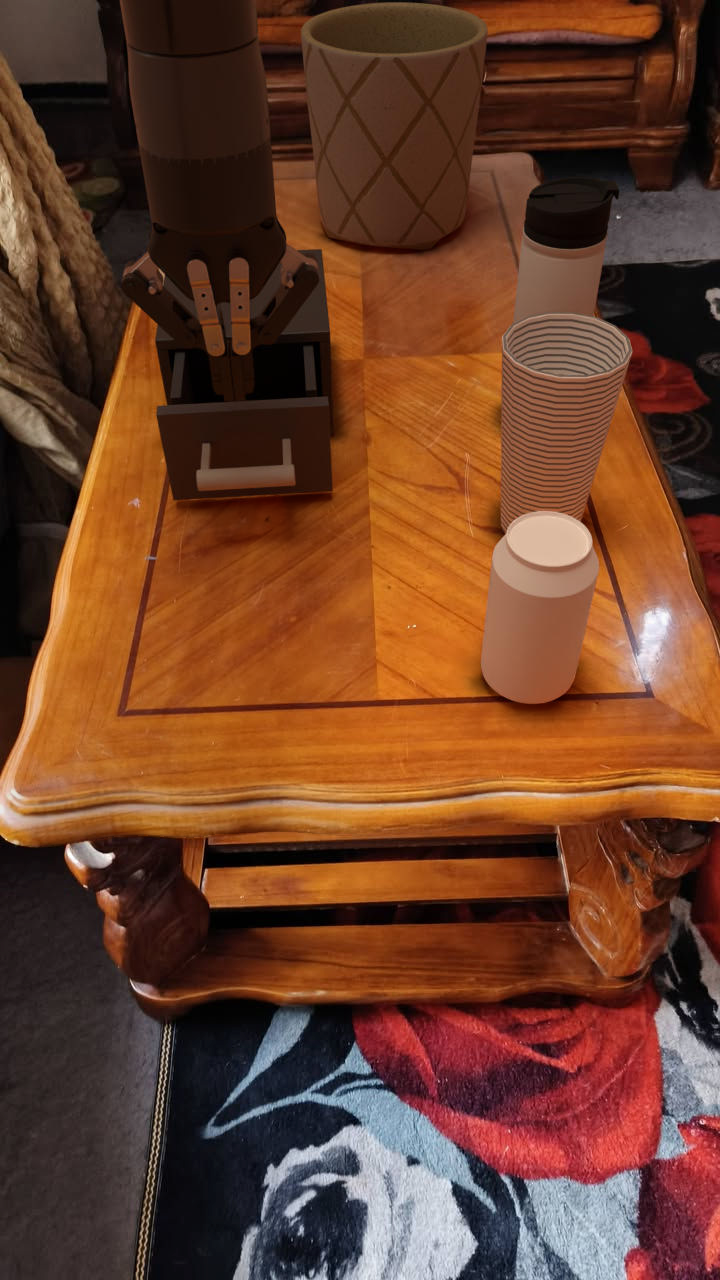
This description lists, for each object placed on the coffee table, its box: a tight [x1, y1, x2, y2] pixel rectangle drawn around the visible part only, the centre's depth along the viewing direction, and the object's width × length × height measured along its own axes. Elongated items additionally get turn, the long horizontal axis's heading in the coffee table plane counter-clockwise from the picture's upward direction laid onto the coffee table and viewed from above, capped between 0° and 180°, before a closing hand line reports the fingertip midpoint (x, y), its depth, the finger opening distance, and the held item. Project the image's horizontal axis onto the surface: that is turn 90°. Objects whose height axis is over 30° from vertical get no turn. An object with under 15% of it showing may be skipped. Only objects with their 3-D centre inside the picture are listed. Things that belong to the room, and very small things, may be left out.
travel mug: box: [512, 176, 620, 324], centre depth 76 cm, size 6×7×20 cm
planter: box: [300, 1, 488, 251], centre depth 105 cm, size 19×19×20 cm
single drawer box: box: [154, 248, 335, 436], centre depth 84 cm, size 15×14×10 cm
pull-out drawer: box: [155, 342, 334, 501], centre depth 76 cm, size 18×13×8 cm
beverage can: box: [480, 511, 600, 705], centre depth 59 cm, size 6×6×12 cm
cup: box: [500, 312, 634, 535], centre depth 68 cm, size 8×8×16 cm
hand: (235, 395), depth 67 cm, fingers closed
